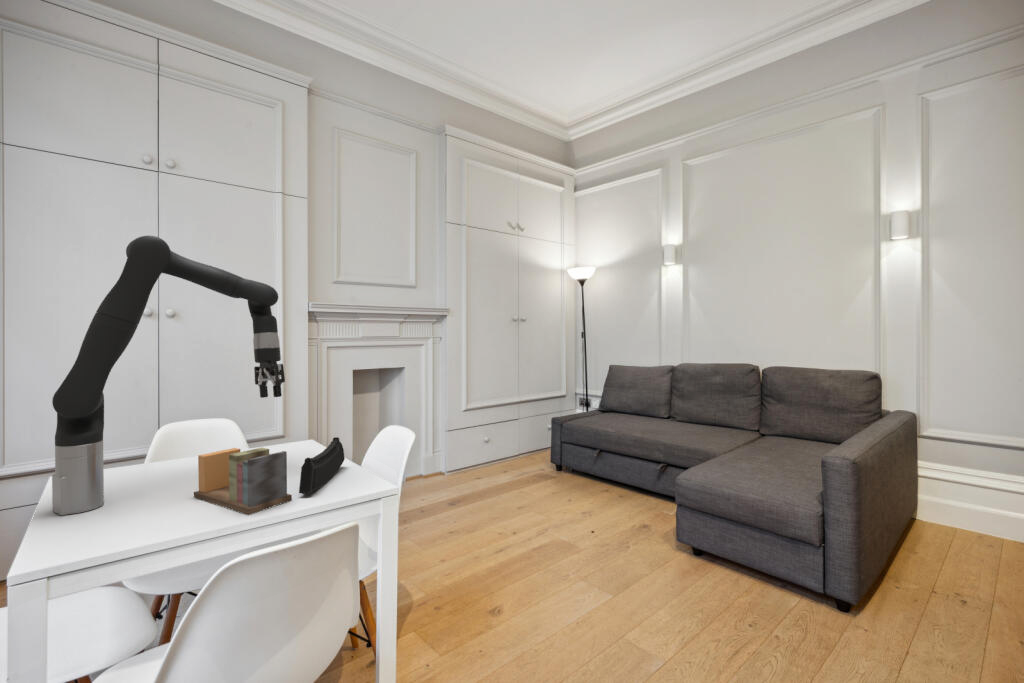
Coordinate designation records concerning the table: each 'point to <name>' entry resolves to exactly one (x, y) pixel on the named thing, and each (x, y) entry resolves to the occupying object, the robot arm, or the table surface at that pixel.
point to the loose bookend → (214, 470)
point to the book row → (252, 482)
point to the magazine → (321, 467)
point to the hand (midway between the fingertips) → (270, 397)
